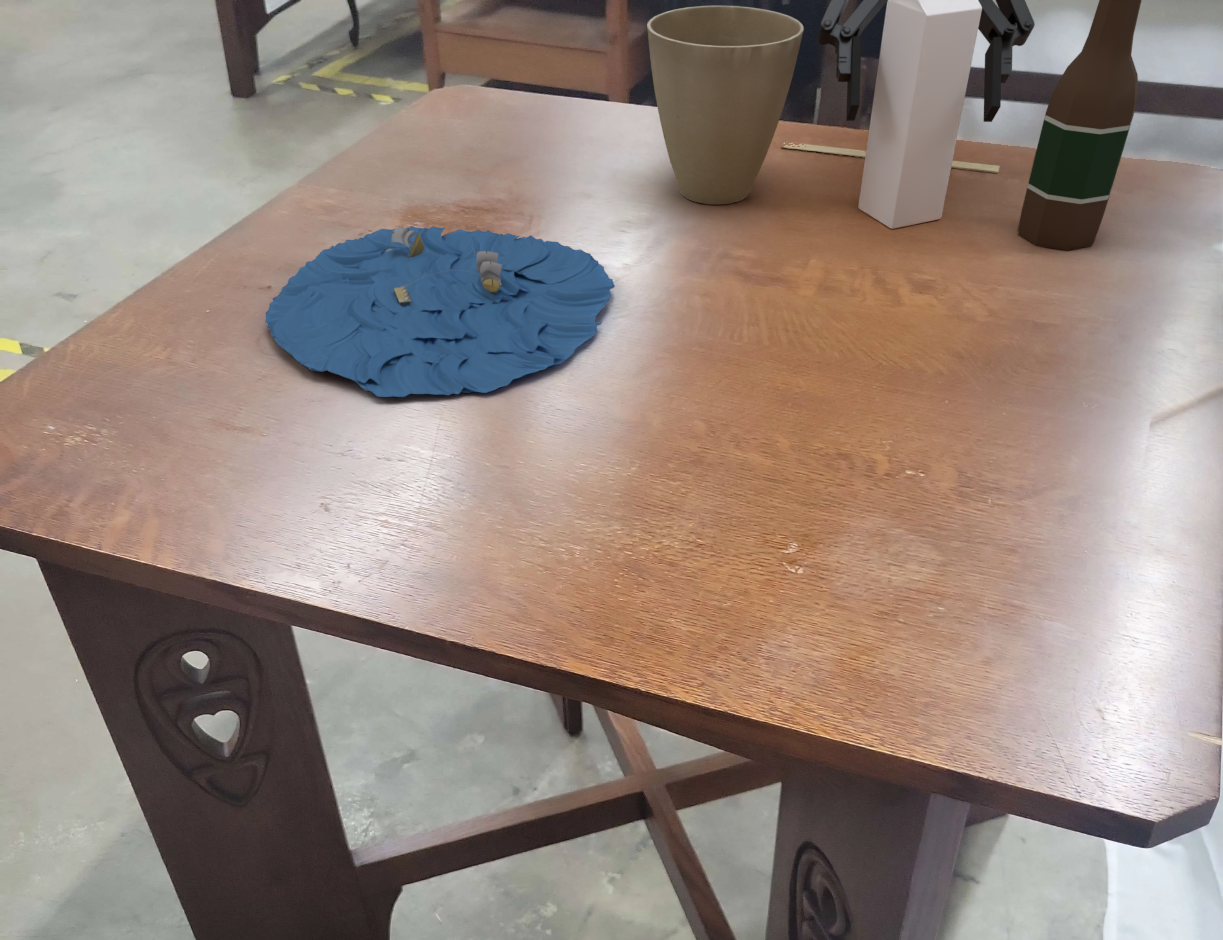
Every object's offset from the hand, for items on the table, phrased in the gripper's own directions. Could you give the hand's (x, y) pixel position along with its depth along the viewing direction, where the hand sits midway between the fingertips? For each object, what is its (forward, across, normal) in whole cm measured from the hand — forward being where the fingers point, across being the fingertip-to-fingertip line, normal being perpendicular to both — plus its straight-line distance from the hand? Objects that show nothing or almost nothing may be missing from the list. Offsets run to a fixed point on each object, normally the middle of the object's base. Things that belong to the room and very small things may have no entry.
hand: (922, 114), depth 99 cm
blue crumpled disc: (+22, +42, +7) cm, 48 cm away
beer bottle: (+9, -14, -6) cm, 18 cm away
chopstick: (-6, -1, -21) cm, 21 cm away
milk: (+6, 0, -9) cm, 11 cm away
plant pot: (+2, +18, -13) cm, 23 cm away
